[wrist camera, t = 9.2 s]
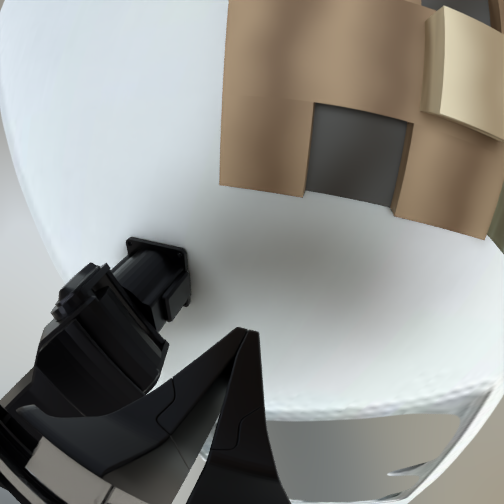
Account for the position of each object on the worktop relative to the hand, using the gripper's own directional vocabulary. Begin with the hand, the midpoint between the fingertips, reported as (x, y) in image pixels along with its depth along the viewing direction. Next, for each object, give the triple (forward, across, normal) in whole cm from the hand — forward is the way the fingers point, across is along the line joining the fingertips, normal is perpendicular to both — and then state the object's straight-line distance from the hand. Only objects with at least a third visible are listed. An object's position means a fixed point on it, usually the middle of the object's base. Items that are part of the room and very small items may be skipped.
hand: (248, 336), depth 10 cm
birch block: (+10, -10, -12) cm, 18 cm away
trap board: (+12, -4, -12) cm, 18 cm away
